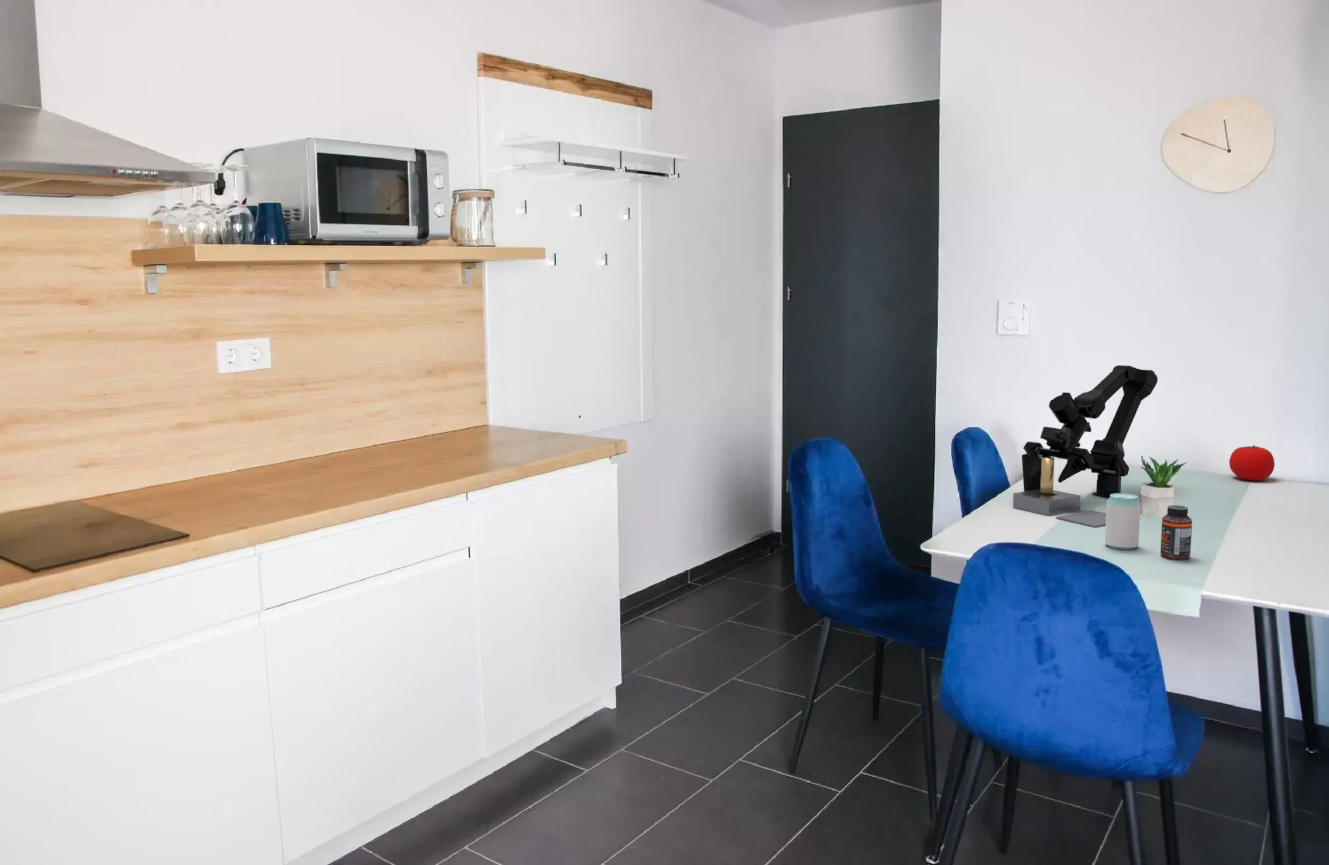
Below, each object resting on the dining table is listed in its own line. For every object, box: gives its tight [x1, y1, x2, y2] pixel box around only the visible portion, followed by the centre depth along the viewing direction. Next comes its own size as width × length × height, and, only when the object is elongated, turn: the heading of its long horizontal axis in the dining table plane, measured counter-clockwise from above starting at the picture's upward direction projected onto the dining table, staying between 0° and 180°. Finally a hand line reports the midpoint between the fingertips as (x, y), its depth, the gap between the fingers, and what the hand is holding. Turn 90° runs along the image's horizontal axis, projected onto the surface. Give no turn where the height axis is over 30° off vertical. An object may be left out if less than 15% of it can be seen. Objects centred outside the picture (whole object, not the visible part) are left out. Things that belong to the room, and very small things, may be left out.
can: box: [1104, 492, 1141, 550], centre depth 229 cm, size 7×7×12 cm
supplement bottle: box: [1160, 504, 1193, 561], centre depth 220 cm, size 6×6×11 cm
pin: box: [1040, 457, 1055, 497], centre depth 268 cm, size 3×3×14 cm
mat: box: [1055, 509, 1106, 529], centre depth 256 cm, size 14×12×1 cm
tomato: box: [1228, 445, 1276, 482], centre depth 301 cm, size 12×12×10 cm
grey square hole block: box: [1012, 489, 1081, 517], centre depth 269 cm, size 12×12×4 cm
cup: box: [1021, 453, 1050, 492], centre depth 284 cm, size 8×8×12 cm
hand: (1043, 479), depth 268 cm, fingers open, 9 cm apart
